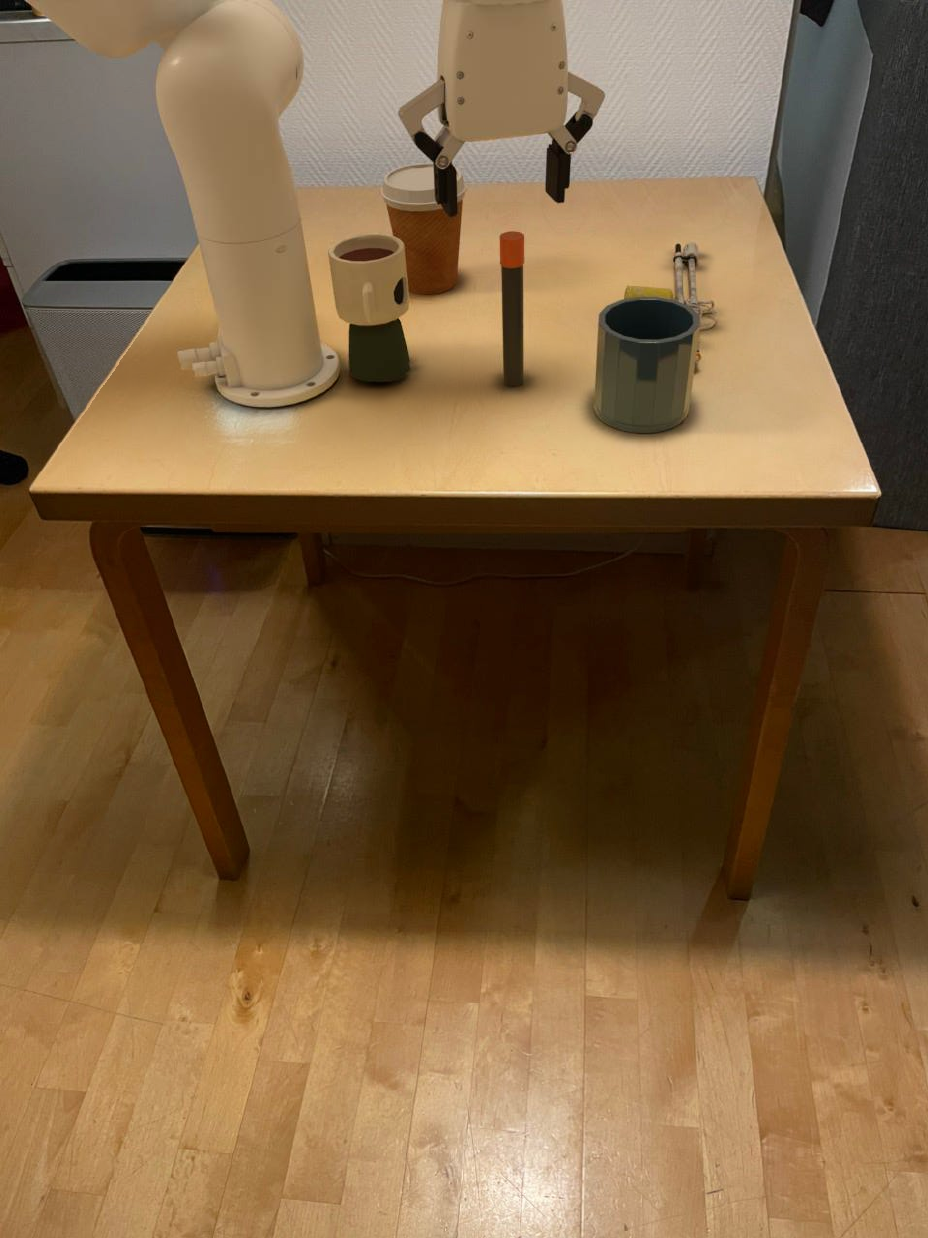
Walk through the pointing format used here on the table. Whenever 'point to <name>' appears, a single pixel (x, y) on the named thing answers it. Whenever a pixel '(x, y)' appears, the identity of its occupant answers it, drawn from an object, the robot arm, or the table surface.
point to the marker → (512, 306)
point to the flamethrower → (678, 285)
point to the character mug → (372, 303)
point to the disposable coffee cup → (424, 226)
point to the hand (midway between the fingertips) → (502, 204)
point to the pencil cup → (645, 363)
